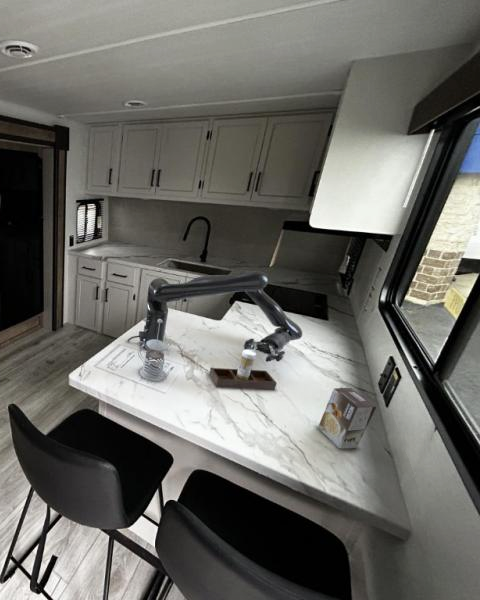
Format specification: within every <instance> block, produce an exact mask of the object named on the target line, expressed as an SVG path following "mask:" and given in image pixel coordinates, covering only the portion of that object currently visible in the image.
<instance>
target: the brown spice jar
mask: <svg viewBox="0 0 480 600" xmlns="http://www.w3.org/2000/svg"><path fill="white" fill-rule="evenodd" d="M256 355H257V354H256V351H254V350H248V349H245V350H244V349H243V350H242V352H241V358H240V362H239V363H238V368H237V369H238V371H237V375H236V377H237V379H238V380H248V377H249V375H250V371H251V370H252V368H253V363H254V360H255V358H256Z"/></svg>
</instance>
